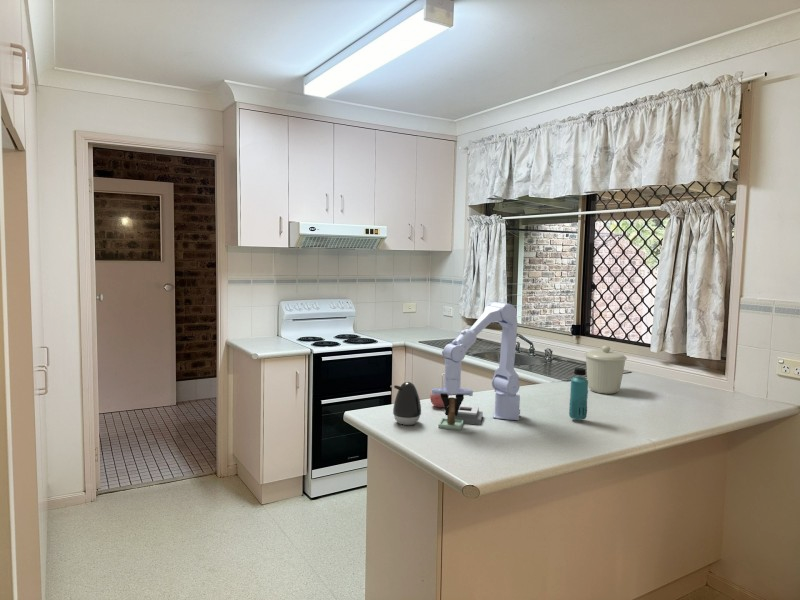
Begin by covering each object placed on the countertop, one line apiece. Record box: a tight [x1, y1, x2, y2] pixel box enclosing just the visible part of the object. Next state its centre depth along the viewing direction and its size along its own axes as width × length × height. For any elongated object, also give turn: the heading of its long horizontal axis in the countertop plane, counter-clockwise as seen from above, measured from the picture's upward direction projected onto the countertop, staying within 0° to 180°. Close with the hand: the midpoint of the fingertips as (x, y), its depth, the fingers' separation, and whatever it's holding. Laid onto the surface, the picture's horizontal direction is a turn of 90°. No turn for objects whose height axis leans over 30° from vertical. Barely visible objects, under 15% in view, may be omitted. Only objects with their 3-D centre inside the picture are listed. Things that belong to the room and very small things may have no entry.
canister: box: [584, 345, 628, 395], centre depth 255 cm, size 18×18×21 cm
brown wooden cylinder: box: [446, 396, 456, 424], centre depth 201 cm, size 3×3×9 cm
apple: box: [429, 391, 450, 408], centre depth 224 cm, size 7×7×8 cm
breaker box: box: [455, 404, 484, 426], centre depth 209 cm, size 12×10×4 cm
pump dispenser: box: [392, 381, 422, 426], centre depth 203 cm, size 10×10×15 cm
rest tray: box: [437, 417, 465, 431], centre depth 202 cm, size 8×8×1 cm
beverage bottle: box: [568, 367, 589, 420], centre depth 210 cm, size 6×7×20 cm
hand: (451, 414), depth 201 cm, fingers closed on brown wooden cylinder, 3 cm apart
